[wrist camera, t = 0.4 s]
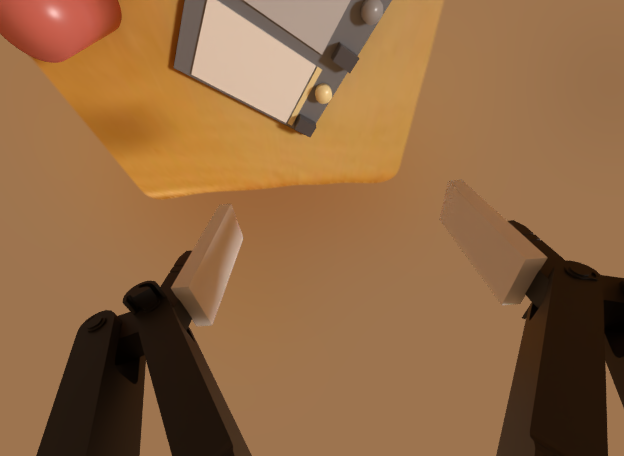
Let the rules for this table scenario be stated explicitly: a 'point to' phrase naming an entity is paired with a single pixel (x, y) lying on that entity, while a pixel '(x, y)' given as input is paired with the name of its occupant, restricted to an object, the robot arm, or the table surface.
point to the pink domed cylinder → (57, 25)
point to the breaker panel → (276, 51)
